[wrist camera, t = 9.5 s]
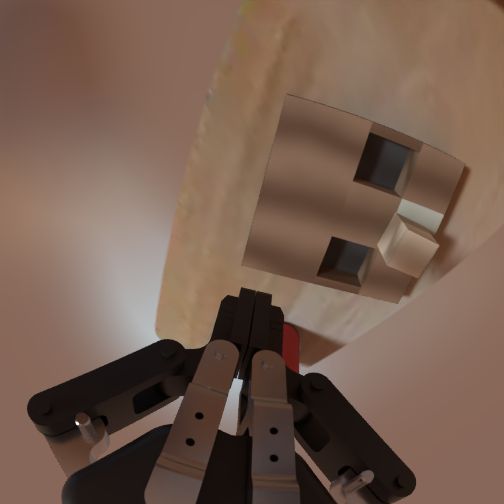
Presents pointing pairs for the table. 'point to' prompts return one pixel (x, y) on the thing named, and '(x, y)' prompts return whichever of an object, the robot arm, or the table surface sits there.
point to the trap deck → (343, 199)
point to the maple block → (407, 246)
